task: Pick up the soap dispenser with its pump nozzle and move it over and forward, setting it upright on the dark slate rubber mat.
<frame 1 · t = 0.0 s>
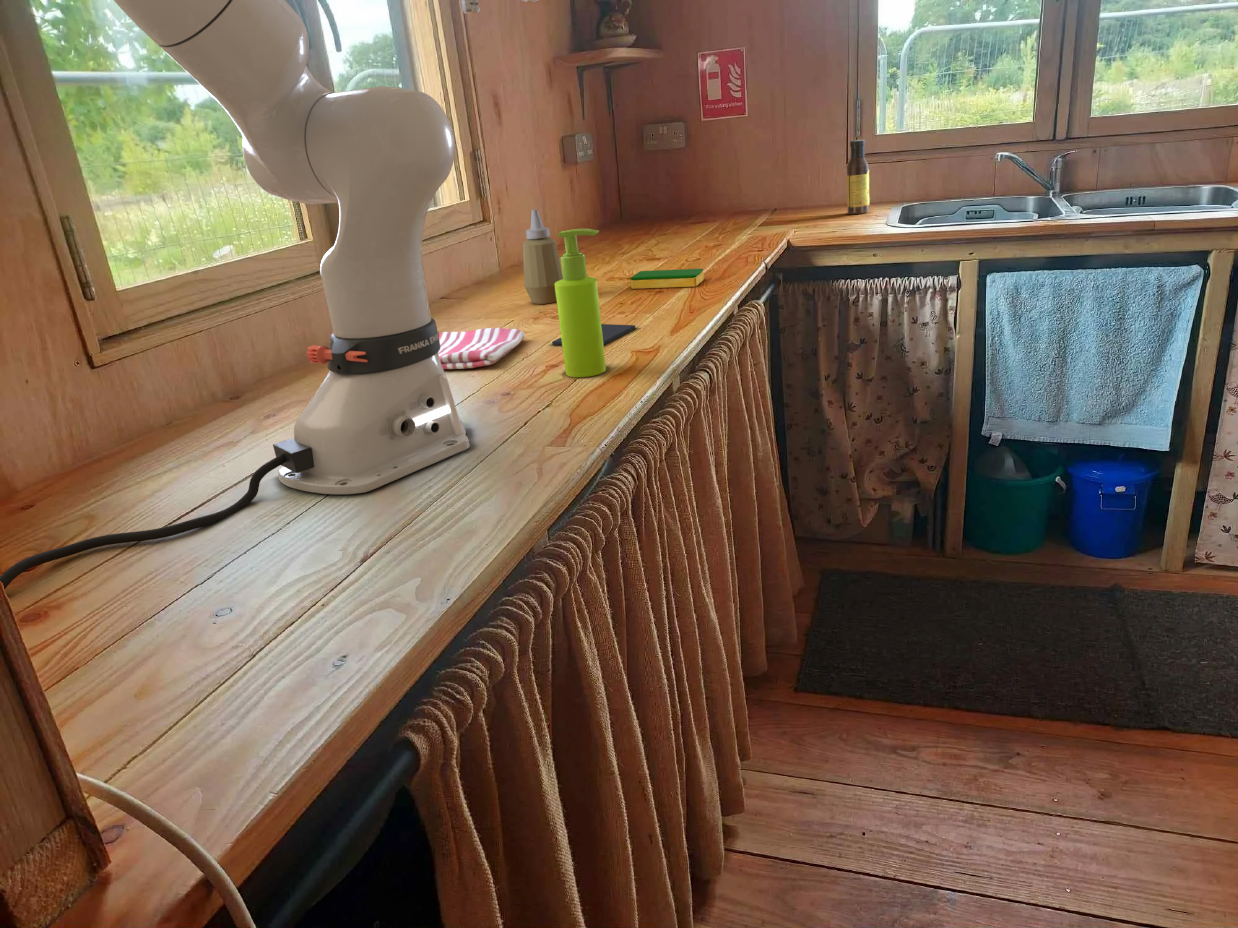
hand: (500, 7, 111), 48 cm above the counter, tool pointing down, fingers open, 8 cm apart
dish sponge: (667, 285, 181), on the counter
squeeze bottle: (546, 302, 177), on the counter
soap dispenser: (589, 372, 126), on the counter
dish towel: (444, 358, 142), on the counter
mat: (594, 336, 145), on the counter
sauce bottle: (858, 213, 253), on the counter
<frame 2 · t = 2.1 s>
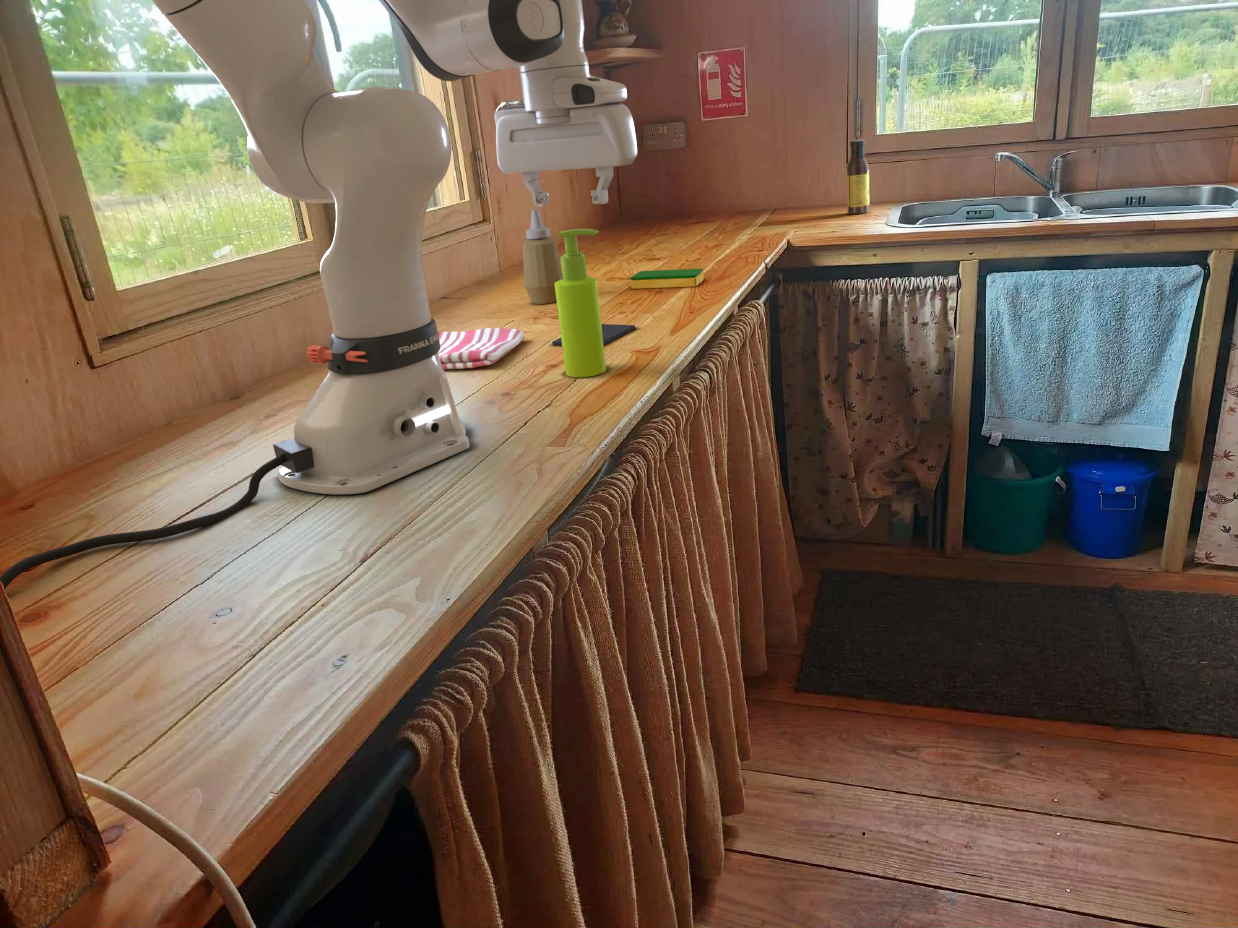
hand: (570, 205, 117), 23 cm above the counter, tool pointing down, fingers open, 8 cm apart
nothing on the counter moved.
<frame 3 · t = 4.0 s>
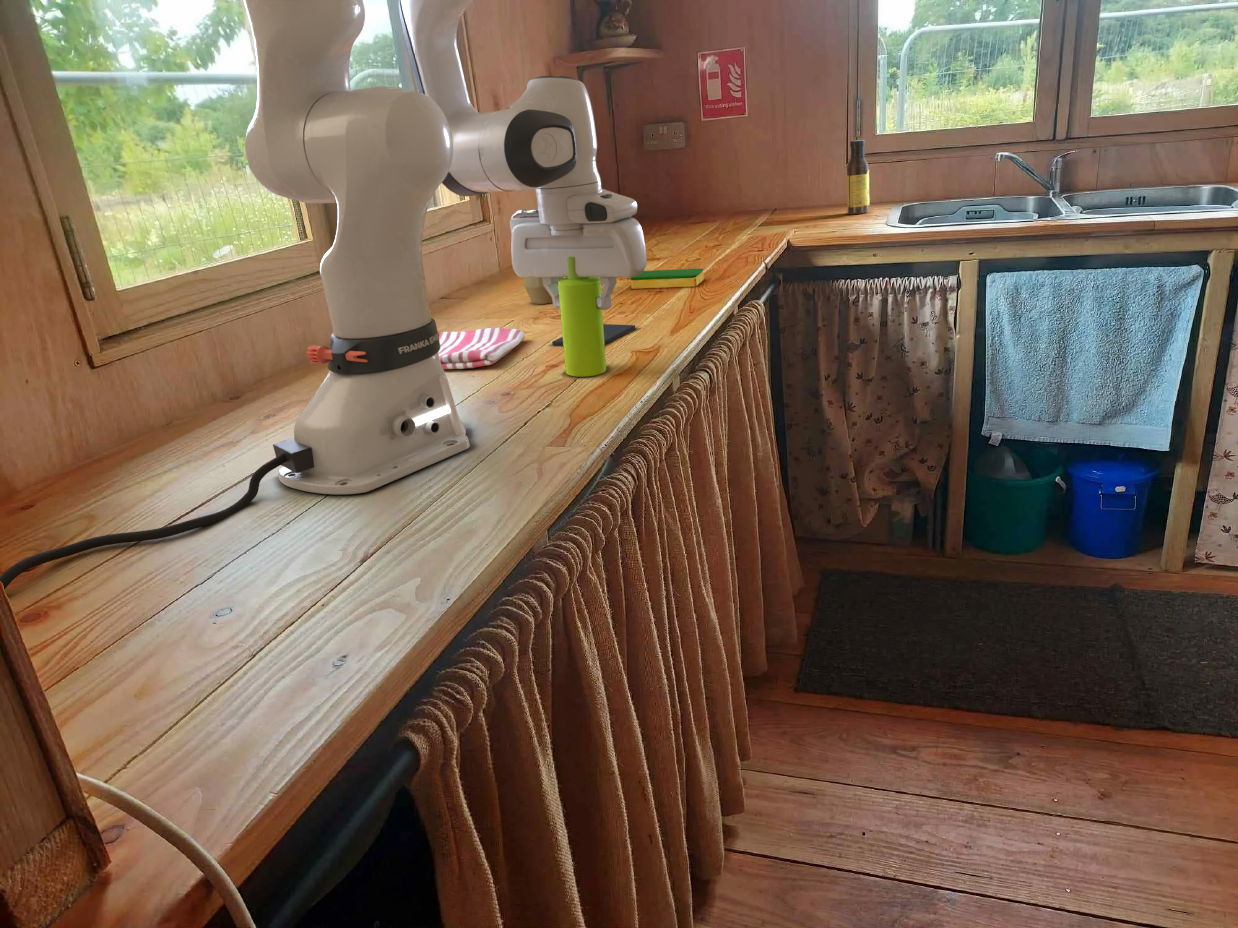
hand: (582, 308, 123), 9 cm above the counter, tool pointing down, fingers closed on soap dispenser, 6 cm apart
soap dispenser: (589, 371, 126), on the counter, touching gripper
everything else where it was.
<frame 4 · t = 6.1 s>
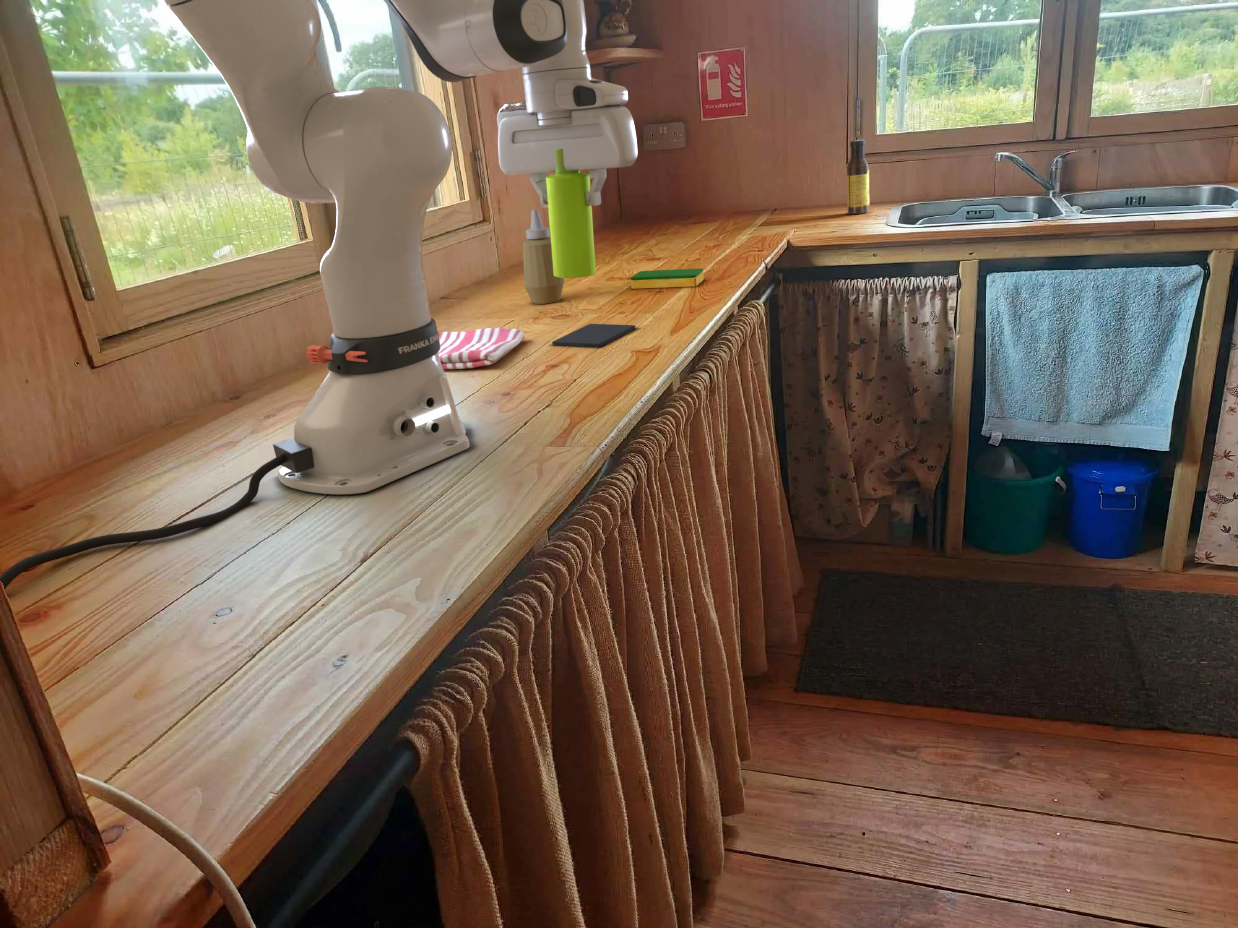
hand: (571, 206, 118), 23 cm above the counter, tool pointing down, fingers closed on soap dispenser, 6 cm apart
soap dispenser: (578, 275, 122), point 14 cm above the counter, touching gripper
everything else where it was.
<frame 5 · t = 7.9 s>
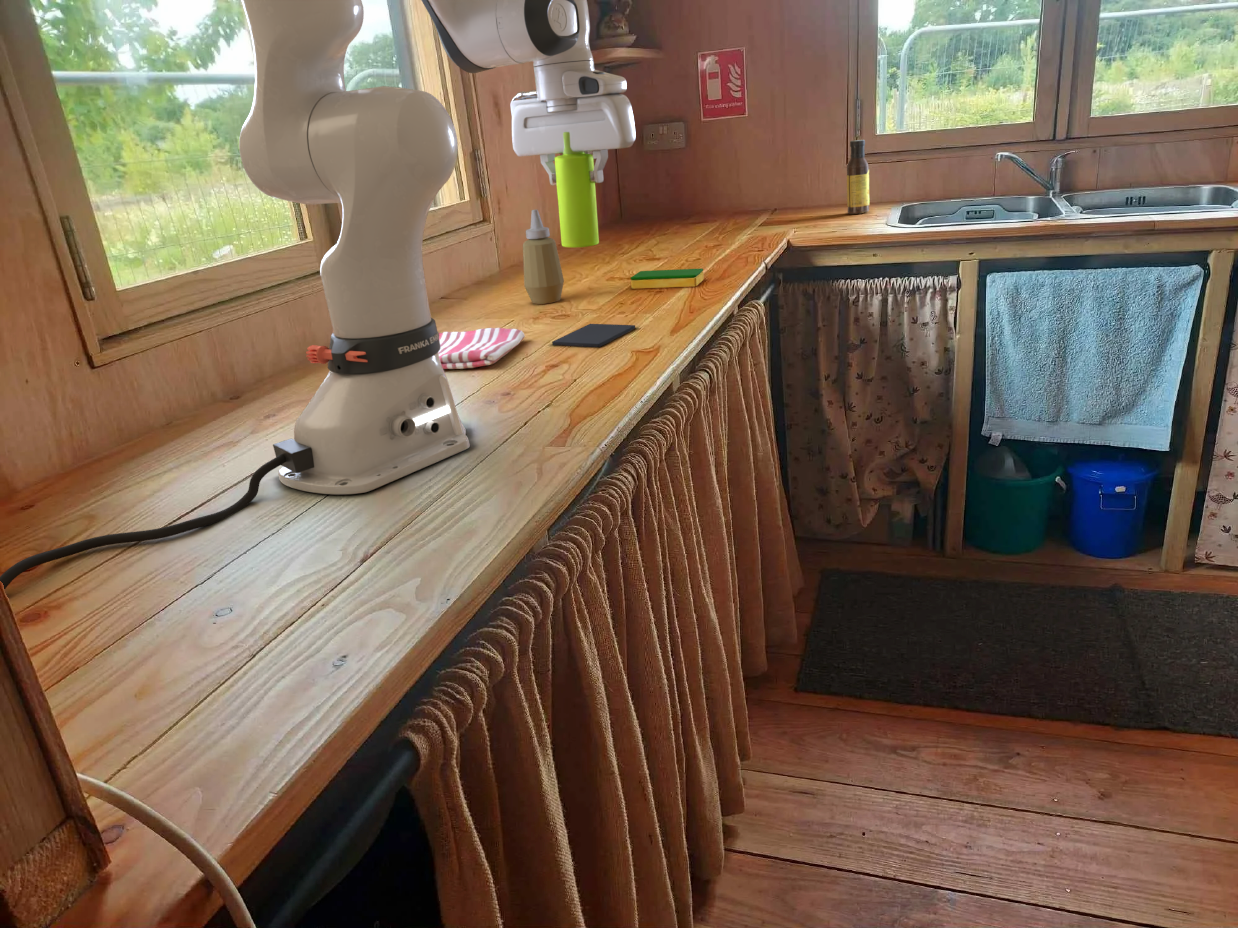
hand: (577, 184, 133), 25 cm above the counter, tool pointing down, fingers closed on soap dispenser, 6 cm apart
soap dispenser: (583, 245, 137), point 15 cm above the counter, touching gripper
everything else where it was.
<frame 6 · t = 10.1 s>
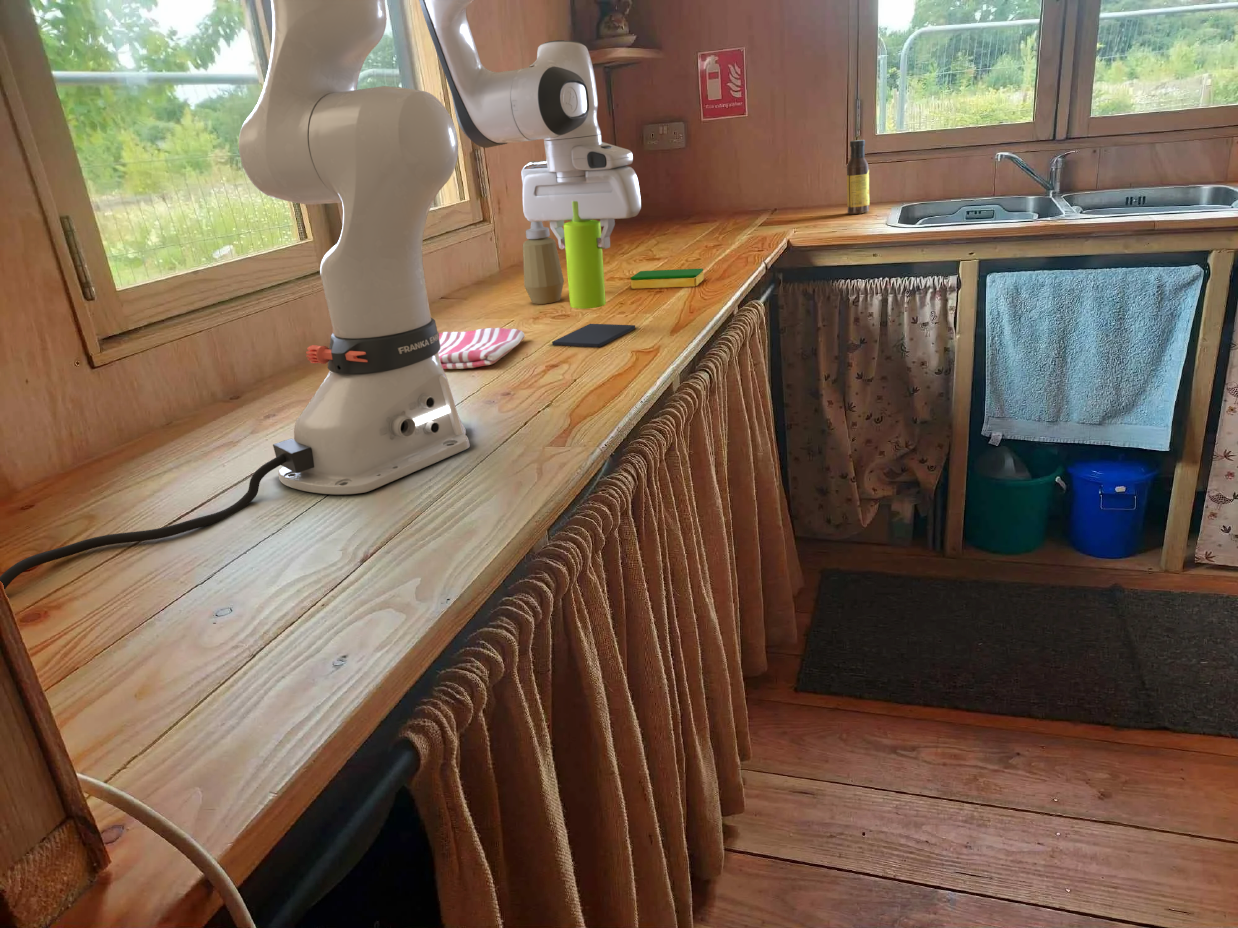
hand: (584, 248, 140), 14 cm above the counter, tool pointing down, fingers closed on soap dispenser, 6 cm apart
soap dispenser: (591, 305, 143), point 5 cm above the counter, touching gripper
everything else where it was.
when the fingers open (10 cm above the counter, at t = 11.8 s): soap dispenser stays where it is, resting on mat.
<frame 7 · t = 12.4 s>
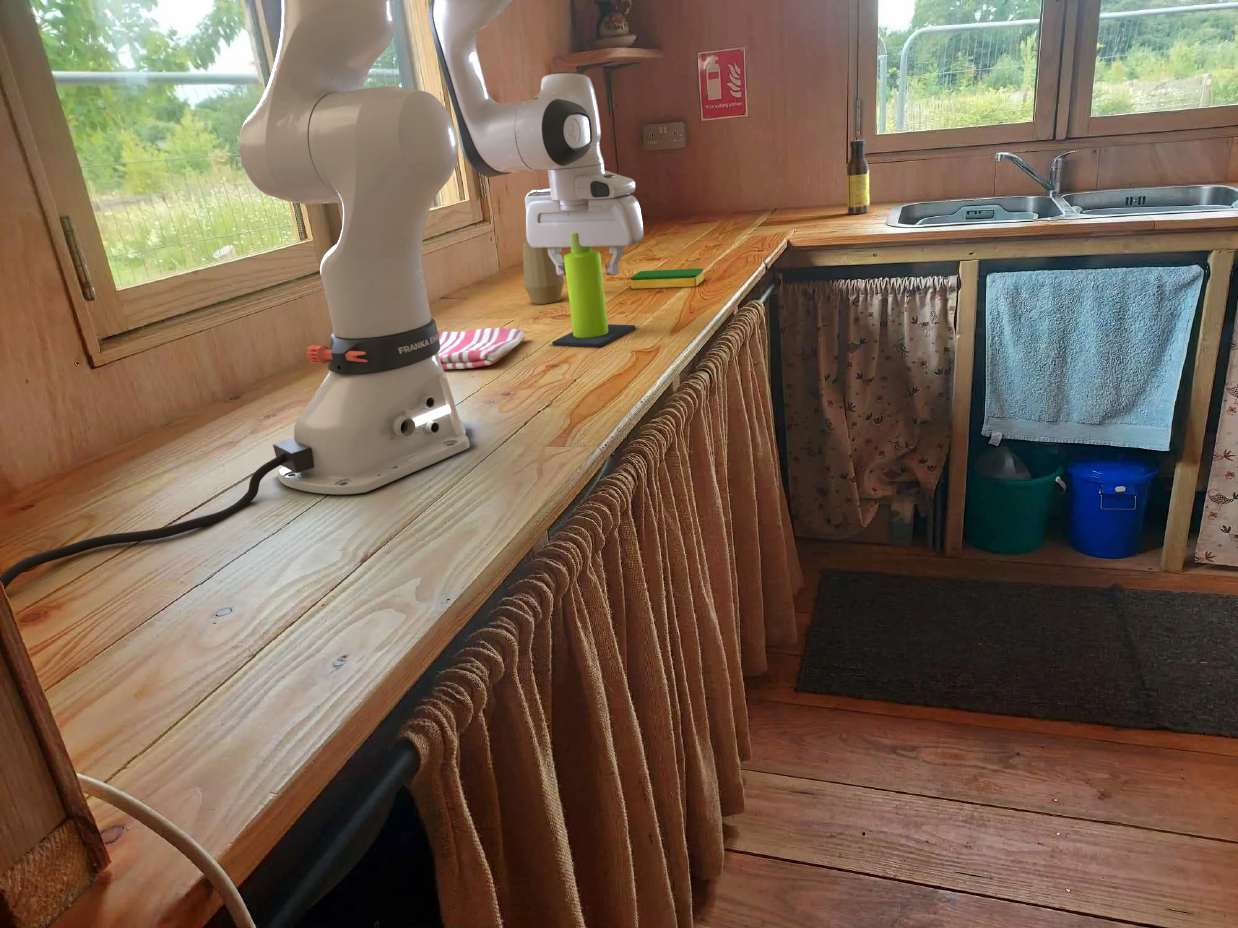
hand: (587, 274, 141), 10 cm above the counter, tool pointing down, fingers open, 8 cm apart
soap dispenser: (594, 334, 145), resting on mat
everything else where it was.
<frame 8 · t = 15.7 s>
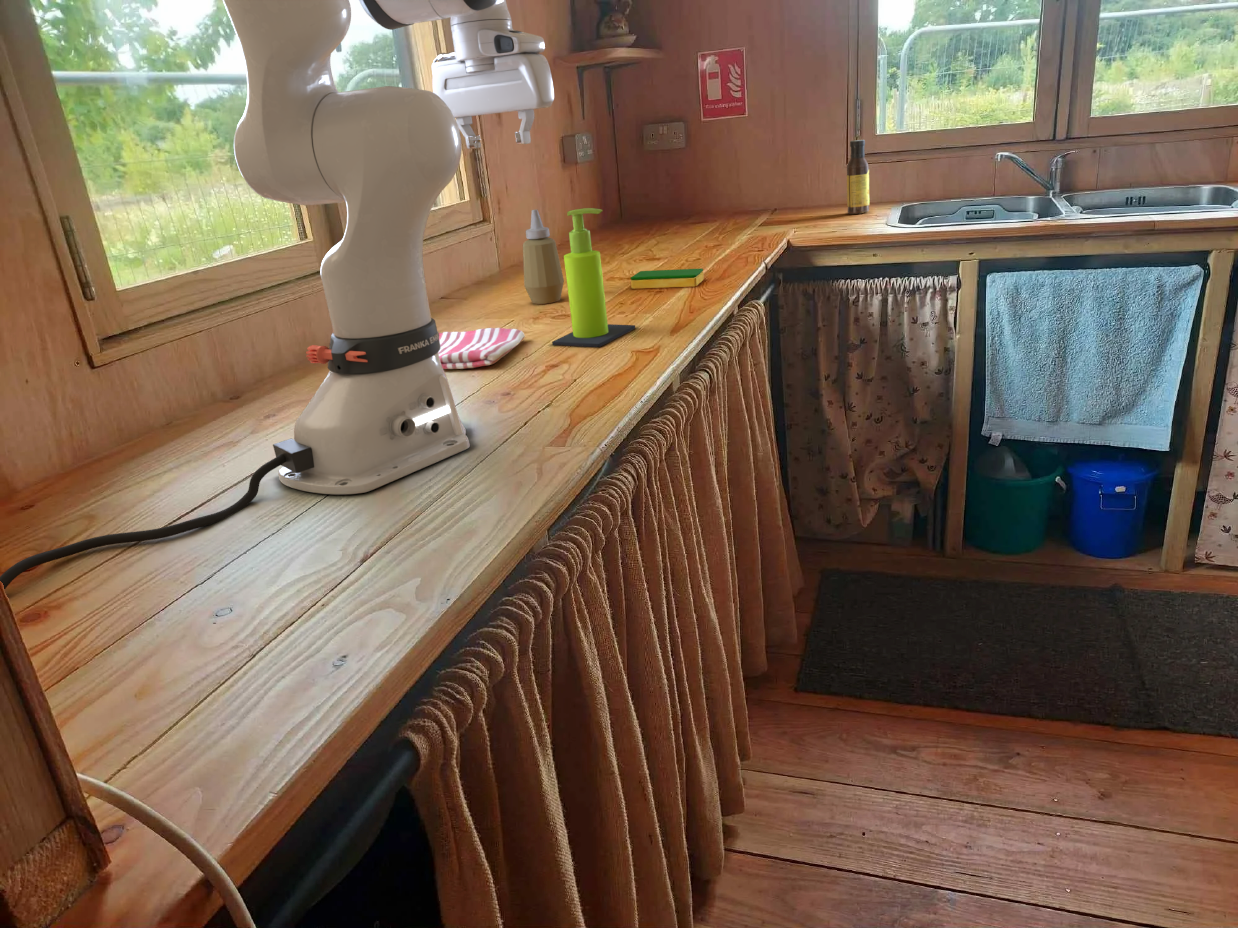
hand: (498, 146, 132), 31 cm above the counter, tool pointing down, fingers open, 8 cm apart
nothing on the counter moved.
at the end: soap dispenser inside the target area on the mat (0.1 cm from its centre), point 0.4 cm above the mat's base; soap dispenser tilted 0°; the gripper is holding nothing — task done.
